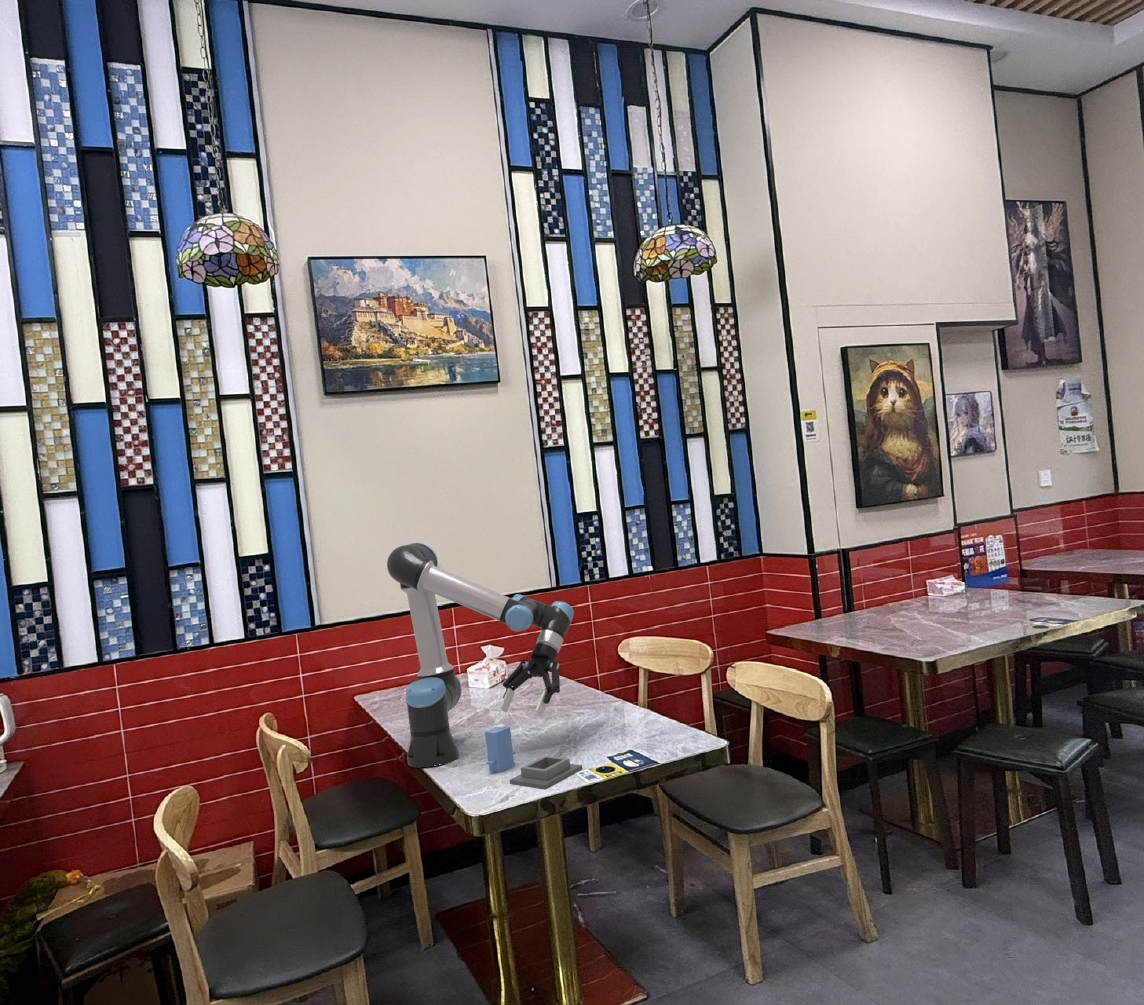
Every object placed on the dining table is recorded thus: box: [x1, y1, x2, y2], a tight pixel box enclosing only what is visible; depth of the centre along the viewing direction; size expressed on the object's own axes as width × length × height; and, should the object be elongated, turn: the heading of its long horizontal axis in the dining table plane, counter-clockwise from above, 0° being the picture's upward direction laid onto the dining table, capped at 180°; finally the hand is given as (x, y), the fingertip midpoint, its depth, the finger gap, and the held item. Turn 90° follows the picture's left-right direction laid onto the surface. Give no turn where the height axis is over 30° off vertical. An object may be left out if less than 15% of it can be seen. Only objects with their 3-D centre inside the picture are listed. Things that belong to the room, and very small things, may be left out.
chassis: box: [509, 755, 583, 790], centre depth 221 cm, size 16×12×4 cm
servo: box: [484, 723, 516, 774], centre depth 232 cm, size 10×4×12 cm, turn 143°
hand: (520, 711), depth 240 cm, fingers open, 13 cm apart
